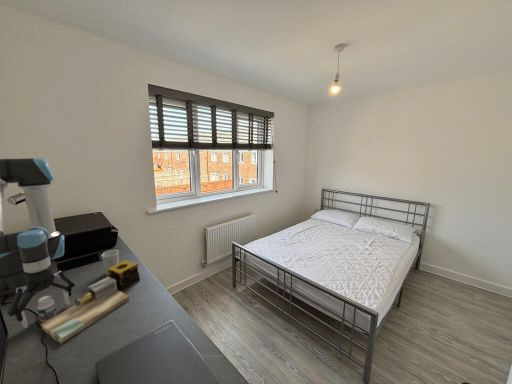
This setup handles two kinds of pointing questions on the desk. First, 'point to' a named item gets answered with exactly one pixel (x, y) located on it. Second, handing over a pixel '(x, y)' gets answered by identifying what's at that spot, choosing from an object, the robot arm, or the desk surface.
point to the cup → (110, 259)
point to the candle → (124, 274)
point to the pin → (84, 298)
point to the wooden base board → (86, 311)
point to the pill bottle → (46, 308)
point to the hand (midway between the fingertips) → (48, 314)
